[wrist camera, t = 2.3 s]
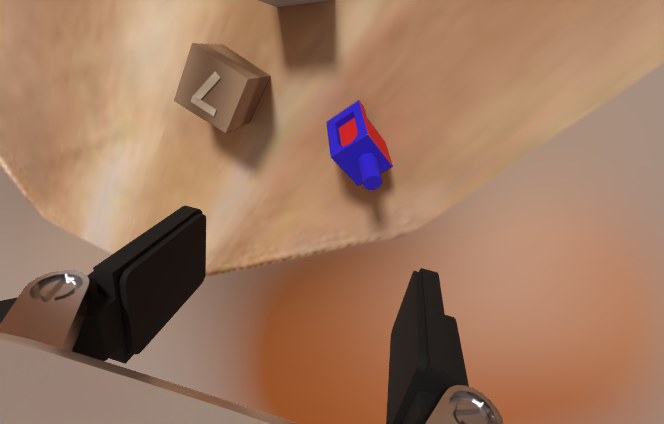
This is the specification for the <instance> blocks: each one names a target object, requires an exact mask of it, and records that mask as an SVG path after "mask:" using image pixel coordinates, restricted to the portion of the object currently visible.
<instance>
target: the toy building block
mask: <svg viewBox="0 0 664 424" xmlns="http://www.w3.org/2000/svg"><path fill="white" fill-rule="evenodd" d="M327 130H328V138H329V146H330V154H331V158H332V159H333V160H334V161H335V162H336V163H337V164H338V165H339V166H340V168H341V169H342V170H343V171H344V172H345V173H346V174H347V175H348V176H349V177H350V178H351V179H352V180H353V181H354V182H355V183H356V185H357V186H359V185H361V184H362V183H363V186H364V188H365V189H367V190H375V189H377V188H379V187H380V186H381V185H382V178H381V174H380V173H382V172H384V171H386V170H388V169H389V168H391V167H393V165H392V162H391V159H390V156H389V153H388V149H387V146H386V143H385V141H384V140H383V139H382V137H381V136H380V135H379V133H378V132H377V131H376V129H375V128H374V126H373V125H372V124H371V122H370V121H369V120H368V118H367V117H366V113H365V109H364V106H363V105H362V104H361V102H360V101H359V100H358V101H357V102H355V103H354V104H352V105H351V106H349V107H348V108H347V109H345V110H344V111H342V112H341V113H339V114H338V115H336V116H335V117H333V118H332V119H330V120H329V121H327Z"/></svg>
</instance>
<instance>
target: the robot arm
mask: <svg viewBox="0 0 664 424" xmlns="http://www.w3.org/2000/svg"><path fill="white" fill-rule="evenodd" d="M93 269H94V271H93V272H92V273H90V274H89V275H88V276H87V275H85V274H84V273H82V272H79V271H72V270H65V271H57V272H53V273H49V274H45V275H43V276H41V277H39V278H36V279H35V280H33V281H32V282H30V283H29V284H28V285H27V286H26V287H25V288H24V289H23V291H22V292H21V294H20V295H19V297H18V298H13V299H8V300H3V301H0V424H297V423H294V422H291V421H288V420H285V419H282V418H279V417H276V416H273V415H270V414H267V413H264V412H261V411H258V410H255V409H252V408H248V407H245V406H242V405H239V404H236V403H233V402H230V401H227V400H224V399H221V398H217V397H214V396H211V395H208V394H205V393H202V392H199V391H195V390H193V389H189V388H186V387H183V386H180V385H177V384H174V383H171V382H168V381H164V380H161V379H158V378H155V377H151V376H149V375H146V374H142V373H139V372H136V371H133V370H130V369H126V368H123V367H120V366H117V365H114V364H111V363H107V362H104V361H105V360H107V359H108V358H110V359H113V360H116V361H119V362H122V363H126V362H127V361H128V360H129V359H130V358H131V357H132V356H133V355H134V354H139V353H140V352H141V351H142V350H143V349H144V348H145V347H146V346H147V345H148V344H149V342H150V341H151V340H152V339H153V338H154V337H155V335H157V333H158V332H159V331H160V330H161V329H162V328H163V327H164V326H165V324H166V323H167V322H168V321H169V320H170V319H171V318H172V317H173V315H174V314H175V313H176V312H177V311H178V310H179V309H180V307H181V306H182V305H183V304H184V303H185V302H186V301H187V300H188V298H189V297H190V296H191V295H192V294H193V293H194V292H195V291H196V289H197V288H198V287H199V286H200V285H201V284H202V282H203V280H204V278H205V270H206V216H205V215H203V214H202V211H201V210H200V209H196V208H192V207H189V206H183V207H181V208H180V209H178V210H177V211H175V212H174V213H172V214H171V215H170V216H168V217H167V218H165V219H164V220H162V221H161V222H159V223H158V224H156V225H155V226H153V227H152V228H151V229H149V230H148V231H146V232H145V233H143V234H142V235H140V236H139V237H137V238H136V239H134V240H133V241H132V242H130V243H129V244H127V245H126V246H124V247H123V248H121V249H120V250H118V251H117V252H115V253H114V254H113V255H111V256H110V257H108V258H107V259H105V260H104V261H102V262H101V263H99V264H98V265H97V266H95V267H94V268H93ZM386 424H503V420H502V417H501V415H500V413H499V411H498V409H497V408H496V407H495V406H494V404H493V403H492V402H491V401H490V400H489V399H488V398H487V397H486V396H485V395H484V394H482V393H481V392H479V391H477V390H476V389H474V388H471V387H469V385H468V380H467V375H466V370H465V364H464V359H463V354H462V349H461V343H460V338H459V333H458V328H457V323H456V319H454V317H451V316H447V315H445V314H444V308H443V301H442V295H441V288H440V281H439V275H438V273H437V272H433V271H430V270H426V269H422V268H421V269H420V271H419V272H417V271H414V272H413V274H412V277H411V279H410V282H409V285H408V288H407V290H406V293H405V296H404V298H403V301H402V304H401V307H400V309H399V312H398V315H397V318H396V321H395V323H394V326H393V329H392V333H391V344H390V363H389V383H388V403H387V422H386Z"/></svg>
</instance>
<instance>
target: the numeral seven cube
mask: <svg viewBox="0 0 664 424" xmlns="http://www.w3.org/2000/svg"><path fill="white" fill-rule="evenodd" d="M269 78H270V75H269V74H267V73H266V72H264V71H262V70H261V69H259V68H258V67H256V66H255V65H253V64H252V63H250V62H249V61H247V60H246V59H244V58H242V57H241V56H239V55H238V54H236V53H235V52H233V51H232V50H230V49H229V48H227V47H226V46H224V45H216V44H197V43H192V45H191V49H190V52H189V55H188V58H187V61H186V64H185V68H184V71H183V74H182V77H181V80H180V83H179V86H178V90H177V93H176V96H175V99H174V101H175V102H177V103H178V104H180V105H181V106H183V107H185V108H186V109H188V110H189V111H191V112H193V113H194V114H196V115H197V116H199V117H200V118H202V119H204V120H205V121H207V122H208V123H210V124H212V125H213V126H215V127H216V128H218V129H220V130H221V131H223V132H224V133H227V132H229V131H232V130H234V129H236V128H239V127H241V126H243V125H245V124H248V123H249V122H250V120H251V118H252V116H253V114H254V111H255V109H256V107H257V105H258V102H259V100H260V98H261V96H262V93H263V91H264V89H265V87H266V84H267V82H268V80H269Z"/></svg>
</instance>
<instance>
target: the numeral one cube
mask: <svg viewBox="0 0 664 424" xmlns="http://www.w3.org/2000/svg"><path fill="white" fill-rule="evenodd" d="M259 1H262V2H264V3H267V4H270V5H273V6H275V7H282V6H290V5H298V4H306V3H314V2H322V1H330V0H259Z"/></svg>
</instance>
